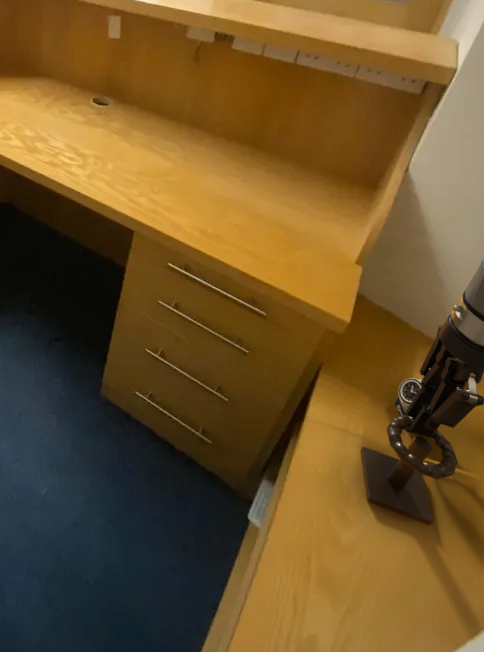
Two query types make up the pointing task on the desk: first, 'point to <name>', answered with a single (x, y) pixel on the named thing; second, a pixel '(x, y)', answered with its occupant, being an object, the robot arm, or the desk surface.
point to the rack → (397, 481)
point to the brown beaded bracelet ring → (434, 471)
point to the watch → (407, 395)
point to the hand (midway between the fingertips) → (417, 424)
